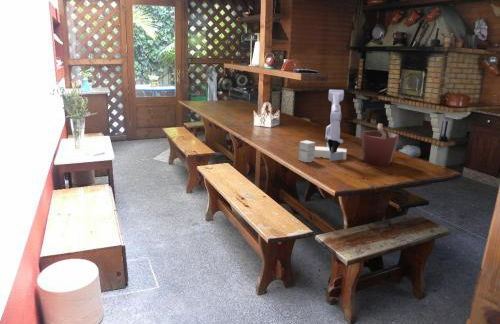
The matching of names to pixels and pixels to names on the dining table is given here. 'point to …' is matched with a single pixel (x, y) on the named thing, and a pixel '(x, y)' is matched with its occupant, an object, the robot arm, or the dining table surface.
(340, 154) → the flap
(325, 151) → the carton
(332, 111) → the robot arm
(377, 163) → the bucket
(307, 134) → the dining table surface
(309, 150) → the supplement box
